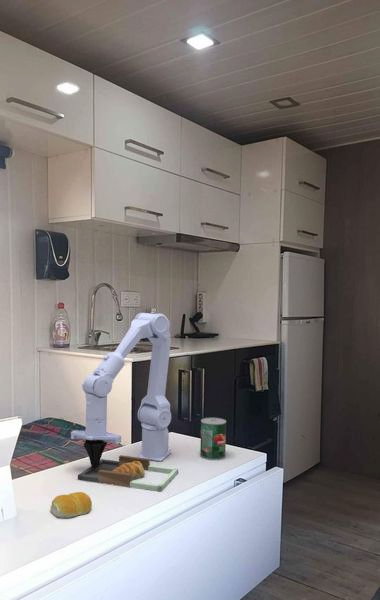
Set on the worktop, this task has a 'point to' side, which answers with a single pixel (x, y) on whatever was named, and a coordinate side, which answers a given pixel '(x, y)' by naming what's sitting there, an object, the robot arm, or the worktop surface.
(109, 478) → the corridor
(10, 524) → the worktop surface
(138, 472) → the pastry
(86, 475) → the tray
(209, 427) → the canned tomato
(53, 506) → the bread roll
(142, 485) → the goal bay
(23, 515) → the worktop surface
